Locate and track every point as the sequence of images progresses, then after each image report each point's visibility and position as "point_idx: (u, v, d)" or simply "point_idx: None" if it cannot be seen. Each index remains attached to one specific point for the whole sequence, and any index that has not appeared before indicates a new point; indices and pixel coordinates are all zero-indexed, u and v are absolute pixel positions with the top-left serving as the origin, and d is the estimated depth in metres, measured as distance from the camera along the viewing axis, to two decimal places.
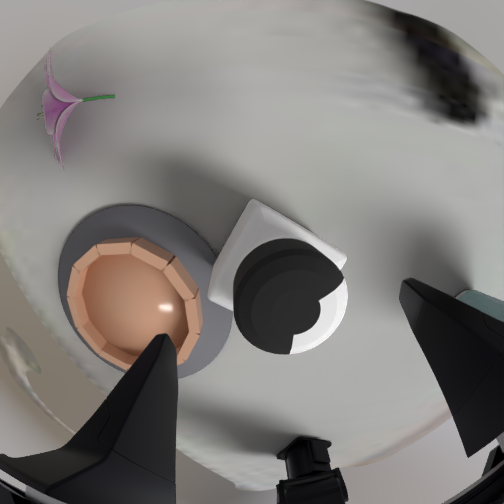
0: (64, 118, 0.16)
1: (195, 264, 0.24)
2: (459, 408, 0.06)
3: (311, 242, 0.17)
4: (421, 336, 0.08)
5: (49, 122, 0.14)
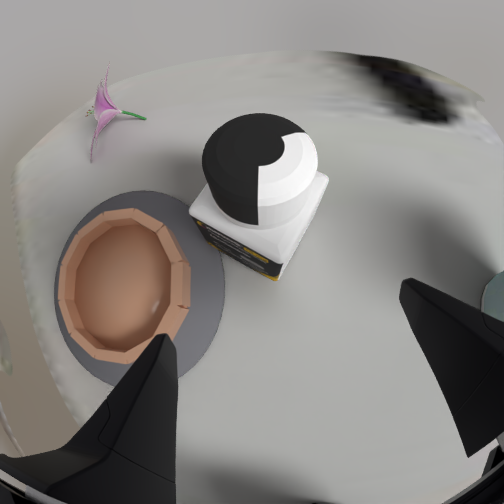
0: (106, 116, 0.25)
1: (190, 241, 0.24)
2: (459, 408, 0.06)
3: None
4: (421, 336, 0.08)
5: (96, 107, 0.22)
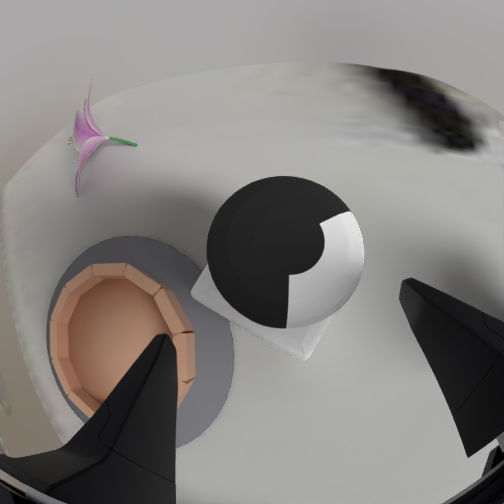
0: (90, 145, 0.21)
1: (193, 302, 0.21)
2: (459, 408, 0.06)
3: None
4: (421, 336, 0.08)
5: (77, 137, 0.19)
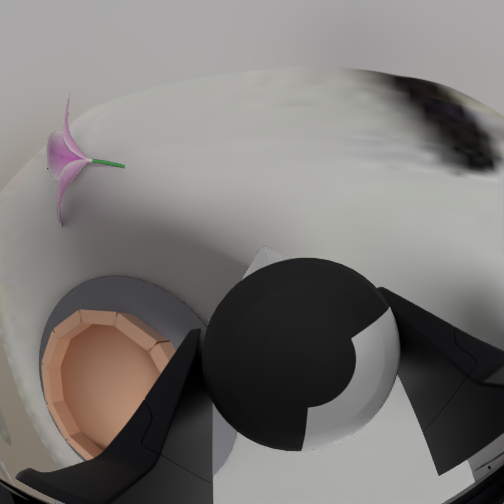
0: (71, 171, 0.18)
1: None
2: (428, 425, 0.06)
3: None
4: None
5: (54, 164, 0.16)
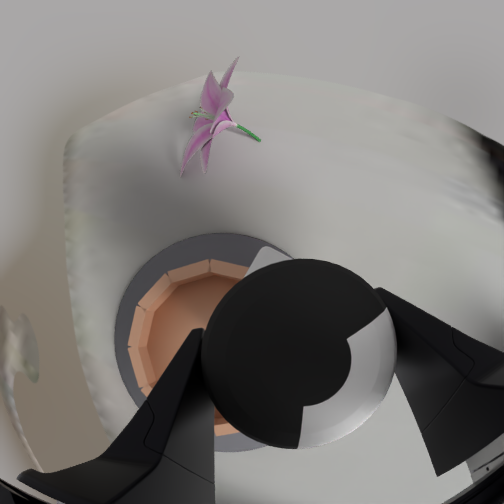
0: (220, 128, 0.22)
1: None
2: (426, 426, 0.06)
3: None
4: None
5: (215, 117, 0.19)
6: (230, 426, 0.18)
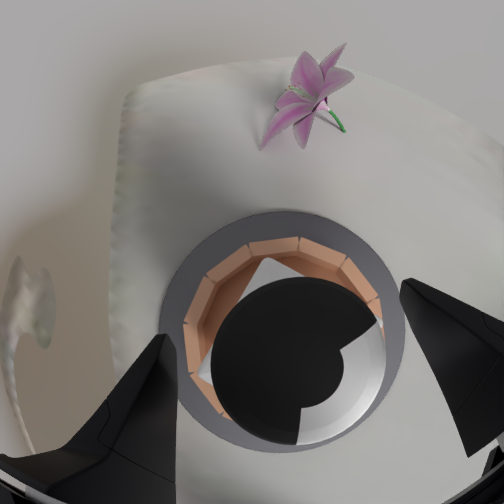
0: (317, 108, 0.20)
1: (383, 317, 0.19)
2: (459, 408, 0.06)
3: None
4: (421, 336, 0.08)
5: (322, 94, 0.17)
6: None
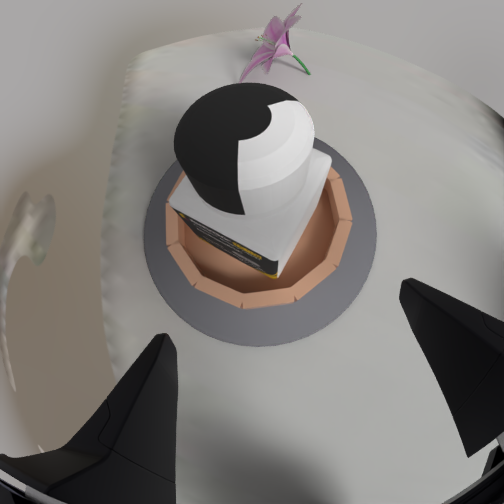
0: (281, 50, 0.22)
1: (352, 206, 0.22)
2: (459, 408, 0.06)
3: None
4: (421, 336, 0.08)
5: (281, 36, 0.20)
6: (262, 296, 0.18)
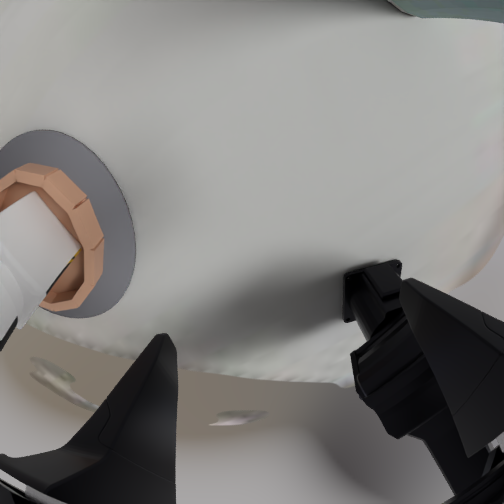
0: None
1: (43, 153, 0.16)
2: (459, 408, 0.06)
3: None
4: (421, 336, 0.08)
5: None
6: (87, 270, 0.19)
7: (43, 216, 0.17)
